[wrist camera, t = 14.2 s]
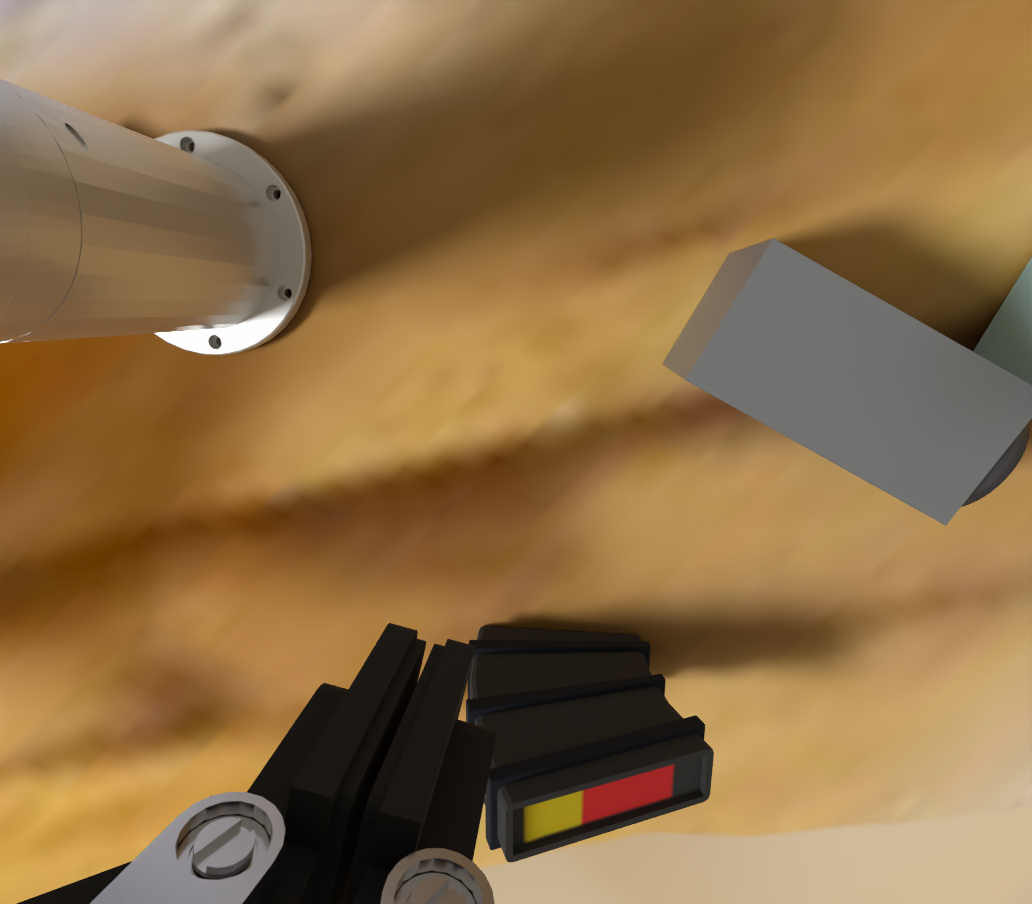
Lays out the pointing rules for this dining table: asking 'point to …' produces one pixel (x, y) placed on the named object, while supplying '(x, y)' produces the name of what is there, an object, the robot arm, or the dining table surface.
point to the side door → (1012, 331)
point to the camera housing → (854, 380)
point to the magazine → (578, 737)
